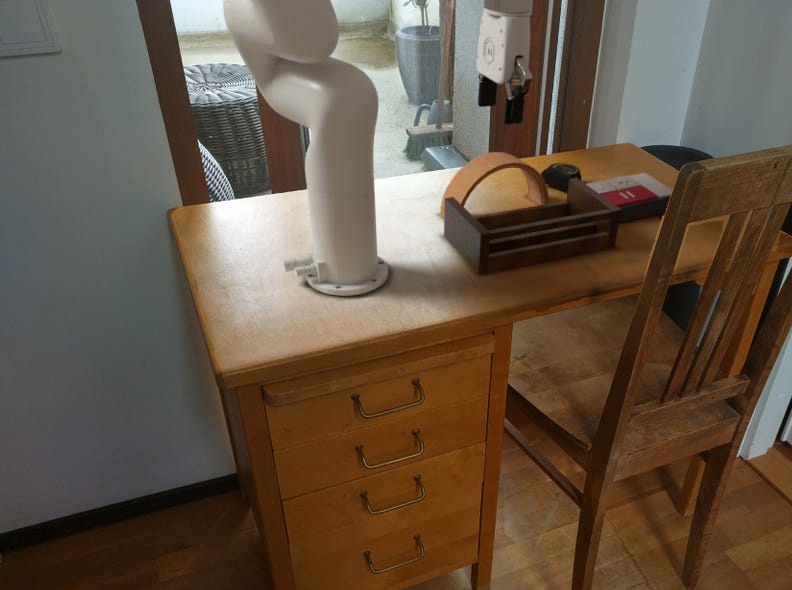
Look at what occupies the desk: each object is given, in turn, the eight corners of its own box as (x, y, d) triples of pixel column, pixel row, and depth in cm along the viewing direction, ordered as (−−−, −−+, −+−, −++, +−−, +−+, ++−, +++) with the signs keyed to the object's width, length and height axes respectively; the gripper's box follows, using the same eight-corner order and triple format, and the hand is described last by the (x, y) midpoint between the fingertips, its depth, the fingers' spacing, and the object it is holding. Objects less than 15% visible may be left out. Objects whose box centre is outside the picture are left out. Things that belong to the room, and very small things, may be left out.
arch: (548, 206, 133) (554, 154, 127) (455, 227, 125) (456, 172, 119) (531, 195, 137) (536, 144, 131) (439, 214, 129) (440, 161, 123)
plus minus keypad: (578, 182, 134) (645, 169, 138) (576, 204, 136) (642, 189, 141) (610, 206, 126) (680, 191, 130) (607, 228, 128) (676, 212, 133)
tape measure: (537, 186, 141) (539, 167, 139) (558, 176, 145) (560, 158, 143) (565, 196, 137) (567, 178, 135) (586, 186, 141) (588, 168, 139)
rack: (478, 275, 112) (481, 234, 108) (443, 236, 122) (444, 198, 118) (615, 247, 121) (622, 209, 117) (571, 213, 131) (576, 177, 127)
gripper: (463, -8, 115) (458, 101, 125) (512, 13, 102) (502, 132, 112) (504, -8, 118) (496, 98, 128) (557, 12, 105) (544, 128, 115)
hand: (499, 114), depth 120 cm, fingers open, 9 cm apart
